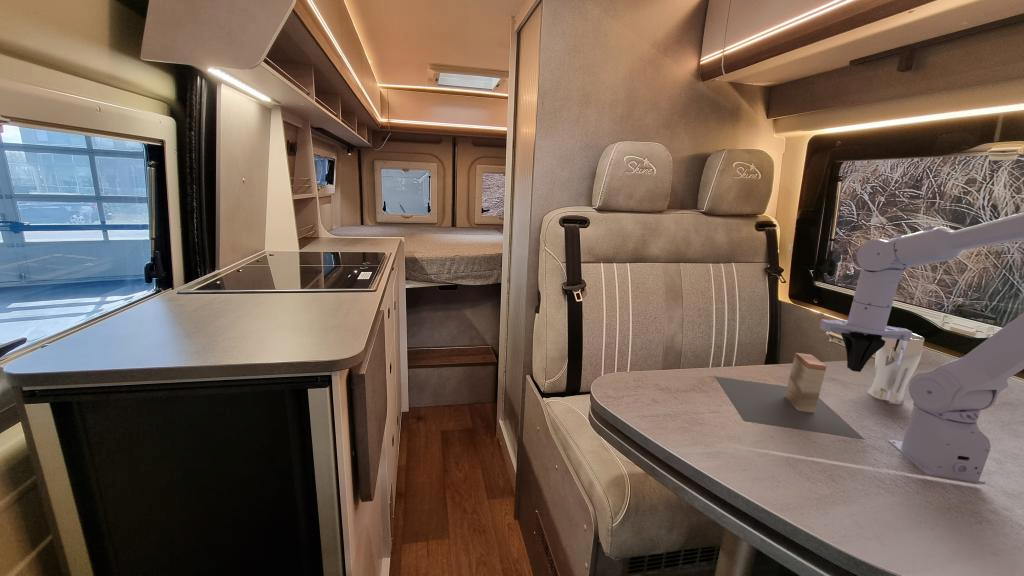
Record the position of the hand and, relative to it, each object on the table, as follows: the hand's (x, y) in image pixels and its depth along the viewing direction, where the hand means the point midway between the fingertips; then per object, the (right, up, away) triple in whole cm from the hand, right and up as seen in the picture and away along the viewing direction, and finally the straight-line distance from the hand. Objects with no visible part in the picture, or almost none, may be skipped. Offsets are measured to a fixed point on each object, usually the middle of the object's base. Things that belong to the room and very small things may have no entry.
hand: (853, 369), depth 83 cm
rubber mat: (-13, -8, +3) cm, 15 cm away
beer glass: (+15, -9, +10) cm, 20 cm away
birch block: (-8, -8, +3) cm, 12 cm away
